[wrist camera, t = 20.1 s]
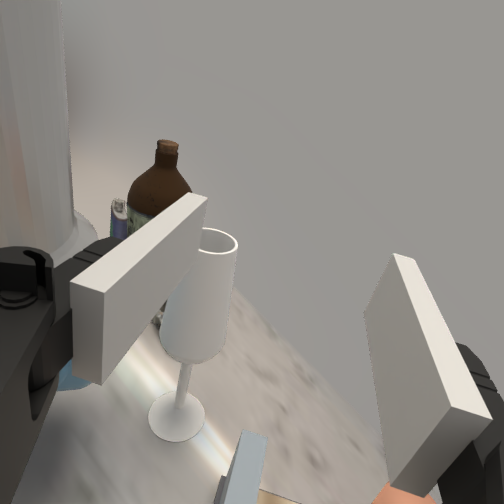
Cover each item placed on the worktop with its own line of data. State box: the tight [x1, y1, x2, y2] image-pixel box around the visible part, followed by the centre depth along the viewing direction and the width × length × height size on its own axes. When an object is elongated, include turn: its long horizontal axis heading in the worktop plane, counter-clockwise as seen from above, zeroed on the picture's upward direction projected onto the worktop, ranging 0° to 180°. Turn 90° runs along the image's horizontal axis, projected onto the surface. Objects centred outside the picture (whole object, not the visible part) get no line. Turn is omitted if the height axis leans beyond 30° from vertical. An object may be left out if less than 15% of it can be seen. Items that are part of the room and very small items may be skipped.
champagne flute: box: [148, 228, 238, 442], centre depth 35 cm, size 7×7×24 cm
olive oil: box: [127, 140, 192, 238], centre depth 58 cm, size 11×11×25 cm
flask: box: [110, 198, 127, 240], centre depth 67 cm, size 9×3×11 cm, turn 24°
